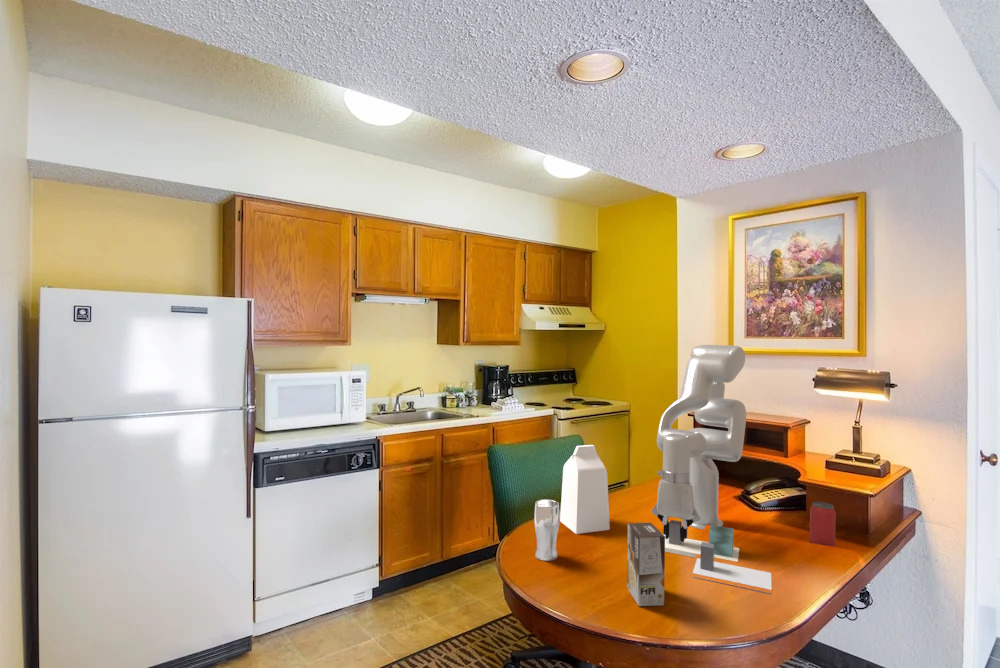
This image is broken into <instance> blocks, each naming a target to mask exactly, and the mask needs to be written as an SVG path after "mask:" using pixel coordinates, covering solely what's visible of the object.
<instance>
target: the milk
mask: <svg viewBox="0 0 1000 668" xmlns="http://www.w3.org/2000/svg"><path fill="white" fill-rule="evenodd" d="M561 485H562V486H561V496H560V497H561V501H560V511H559V523H562V524H563V525H564V526H565V527H566V528H568V529H569V530H571V531H572V532H573V533H574V534H575V535H578V534H579V535H580V534H587V533H594V532H602V531H609V530H610V529H611V527H610V526H611V525H610V510H609V508H610V507H609V505H610V504H609V486H608V485H609V484H608V472H607V468H606V467H605V465H604V462H603V461H602V459H601V458H600V456H599V454H598V453H597V449H596V447H595V445H593V444H586V445H576V447H575V449H574V451H573V453H572V455H571V456H570V457H569V458H568V459H567V460H566V462H565V463H564V465H563V468H562V482H561Z"/></svg>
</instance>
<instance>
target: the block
mask: <svg viewBox="0 0 1000 668" xmlns="http://www.w3.org/2000/svg"><path fill="white" fill-rule="evenodd" d="M734 531H735V529H734V528H732V527H731V528H730V527H726V526H725V527H724V526H723V527H720V526H714V525H711V526H710V528H709V531H708V543H711V544H714V554H715V555H721V556H726V557H731V558H732V555H733V547H734V534H735V533H734Z"/></svg>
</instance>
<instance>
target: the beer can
mask: <svg viewBox="0 0 1000 668" xmlns="http://www.w3.org/2000/svg"><path fill="white" fill-rule="evenodd" d="M811 503H812V504H811V506H810V509H809V541H810V543H811V544H815V545H822V546H827V547H832V548H834V547H835V545H836V526H837V525H836V521H837V520H836V518H837V516H836V515H837V514H836V510H835V508H834V507H835V506H834V505H833V504H831V503H830V502H829V503H828V502H823V501H813V502H811Z"/></svg>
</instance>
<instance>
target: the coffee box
mask: <svg viewBox="0 0 1000 668" xmlns="http://www.w3.org/2000/svg"><path fill="white" fill-rule="evenodd" d="M665 554H666V552H665V536H664V535H663V532H661V531H660V530H659V529H658V528H657V527H656V526H655V525H654V524H653V523H652V522H634V523H627V559H626V560H627V561H626V562H627V563H626V564H627V565H626V566H627V570H626V571H627V572H626V574H627V578H626V587H627V590H628V591H629V594H630V595H631V596H632V599H634V601H635V603H636V604H637V605H638V606H639V607H653V606H654V607H655V606H656V607H658V606H664V605H665V567H666V566H665V565H666V564H665V561H666V560H665V559H666V555H665Z"/></svg>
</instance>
